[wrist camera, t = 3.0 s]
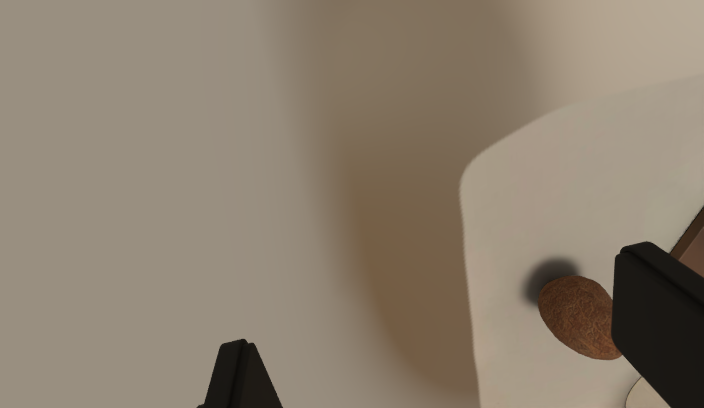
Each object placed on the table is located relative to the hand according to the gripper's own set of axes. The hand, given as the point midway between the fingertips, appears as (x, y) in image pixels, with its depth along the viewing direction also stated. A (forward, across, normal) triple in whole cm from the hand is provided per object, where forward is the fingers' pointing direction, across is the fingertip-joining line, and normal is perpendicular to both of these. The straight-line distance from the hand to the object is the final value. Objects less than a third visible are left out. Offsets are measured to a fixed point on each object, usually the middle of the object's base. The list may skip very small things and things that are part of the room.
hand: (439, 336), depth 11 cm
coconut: (+20, -14, +17) cm, 30 cm away
